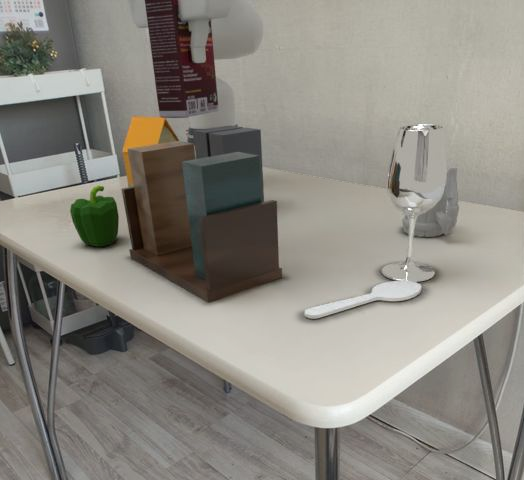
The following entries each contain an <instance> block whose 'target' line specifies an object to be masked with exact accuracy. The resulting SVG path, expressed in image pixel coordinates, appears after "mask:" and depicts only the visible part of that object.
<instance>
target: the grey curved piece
mask: <svg viewBox="0 0 524 480" xmlns="http://www.w3.org/2000/svg"><path fill="white" fill-rule="evenodd" d="M457 172H458V167H457V166H452V167H450V168H448V169H447V179H446V187H445V192H444V194H443V196H442V198H441V200H440V201H439V202H438V203H437V205H436V206H435V207H433V208H432V209H431V210H429V211H428V212H426V213H424V214H422V215H419V216H418V217H417V220H416V224H415V229H414V237H420V238H434V237H439V236H442V235H443V234H444V235H445V236H448V235H450V234H451V233H452V231H453V229H455V227H456V226H457V221H458V216H459V211H460V205H459V189H458V181H457V175H458V174H457ZM404 215H405V216H404V217H403V219H402V220H401V222H402V225H403V232H404V234H407V235H409V219H408V216H407V215H406V214H404Z"/></svg>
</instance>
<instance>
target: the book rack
mask: <svg viewBox="0 0 524 480" xmlns="http://www.w3.org/2000/svg"><path fill="white" fill-rule="evenodd" d="M128 155H129V161H130V167H131V173H132V179H133V185H134V186H132V187H128V186H127V187H123V188H121V195H122V200H123V205H124V211H125V217H126V222H127V229H128V233H129V240H130V245H131V248H130V249H129V250H128V251H129V255H130V259H131V260H134V261H135V262H137V263H139V264H141V265H142V266H144V267H146V268H148V269H149V270H151V271H152V272H154V273H156V274H158V275H160V276H162V277H163V278H165V279H166V280H169V282H172V283H174V284H175V285H177V286H179V287H181V288H182V289H184V290H186V291H187V292H189V293H191V294H192V295H194V296H196V297H198V298H199V299H201V300H203V301H204V302H206V303H212V302H215V301H217V300H221V299H223V298H227V297H229V296H233V295H235V294H239V293H241V292H243V291H247V290H251V289H253V288H256V287H259V286H262V285H265V284H267V283H268V284H269V283H271V282H274V281H277V280H280V279H283V268H282V267H280V255H279V253H280V252H279V227H278V226H279V224H278V201H277V200H274V199H270V200H264V202H262V201H261V181H260V162H259V156H258V155H252V154H247V153H242V152H234V153H228V154H223V155H217V156H211V157H206V158H200V159H196V158H195V149H194V144H192V143H188V142H186V141H182V140H181V141H180V140H179V141H174V142H168V143H161V144H155V145H148V146H142V147H135V148H128Z"/></svg>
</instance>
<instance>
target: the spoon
mask: <svg viewBox="0 0 524 480" xmlns="http://www.w3.org/2000/svg"><path fill="white" fill-rule="evenodd" d="M421 292H422V285H421V283H420V282H412V281H405V280H404V281H395V280H392V281H385V282H382V283H379V284H376V285H374V286H373V287H372V289H371V292H370V293H366V294H363V295H357V296H355V297H350V298H349V297H348V298H346V299H342V300H338V301H332V302H330V303H329V302H328V303H326V304H324V303H323V304H321V305H316V306H315V305H314V306H312V307H309V308H306V309H304V310H303V312H304V313H303V314H304V317H306V318H308V319H312V320H313V319H314V320H315V319H320V318H323V317H326V316H330V315H333V314H337V313H340V312H343V311H346V310H349V309H352V308H355V307H358V306H362V305H365V304H368V303H372V302H375V301H383V302H400V301H407V300H411V299H413V298H415V297H417V296H418V295H420V293H421Z"/></svg>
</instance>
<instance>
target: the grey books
mask: <svg viewBox="0 0 524 480" xmlns="http://www.w3.org/2000/svg"><path fill="white" fill-rule="evenodd" d="M261 131H262V129H260V128H252V127H244V126H239V125H238V126H230V125H229V126H222V127H216V128H209V129H202V130H195V131H193V135H194V144H195V154H196V159H200V158H206V157H211V156H217V155H223V154H228V153H234V152H242V153H247V154H252V155H258V156H259V162H260V181H261V201H262V202H265V194H264V193H265V192H264V169H263V151H262V149H263V147H262V132H261Z"/></svg>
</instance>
